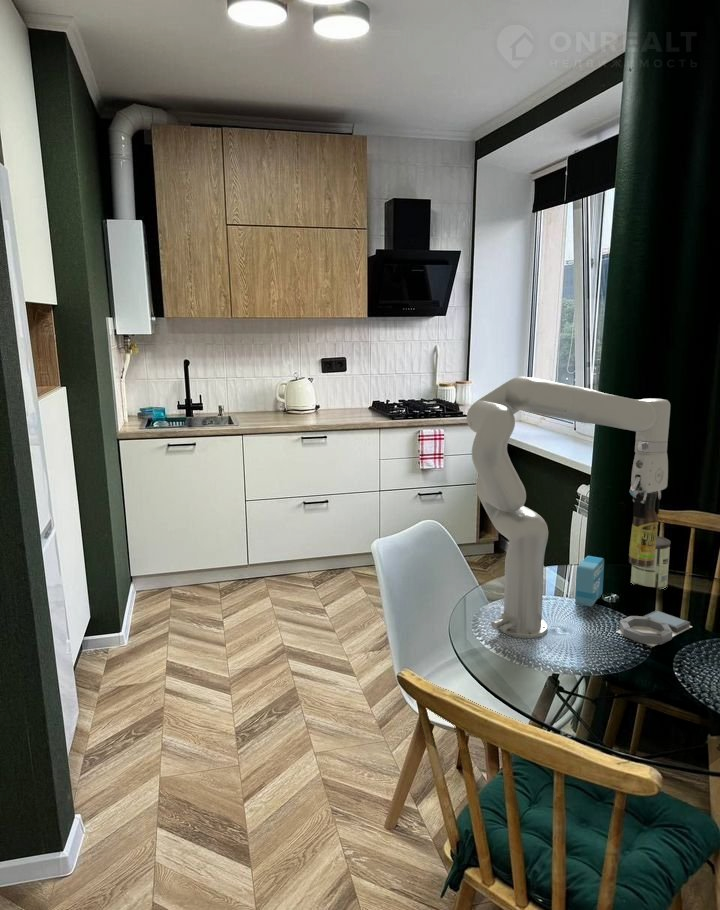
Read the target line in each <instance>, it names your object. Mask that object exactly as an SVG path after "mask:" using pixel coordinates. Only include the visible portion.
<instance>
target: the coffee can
mask: <svg viewBox="0 0 720 910" xmlns="http://www.w3.org/2000/svg"><path fill="white" fill-rule="evenodd" d="M671 542H672V541H671V540H670V539H668V538H667V537H664V536H663V537H662V536H659V535H657V540H656V549H655V558H654V564H653V566H650V567H639V566H635V565H632V564H631V571H630V573H631V574H630V575H631V576H630V583H632V584H633V586H634V585H639V586H643V587H649V588H655V589H658V590H661V589H664V588H666V587H667V588H668V577H669V567H670V566H669V565H670V549H671V544H672V543H671ZM632 584H631V585H632ZM667 588H666V589H667ZM664 590H665V589H664Z"/></svg>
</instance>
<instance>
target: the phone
mask: <svg viewBox="0 0 720 910" xmlns="http://www.w3.org/2000/svg"><path fill="white" fill-rule="evenodd" d="M643 617H651V618H654V619H657V620H660V621H662V622H665V623H667V624H668V625H669V627H670V628H671V630H672V631H673V632H676V633H678V632H680V631H682V630H684V629H686V628H688V627H689V626H691V621H688V620H685V619H684V618H683V619H682V618H681V617H677V616H674V615H672V614H668V613H665V612H662V611H659V610H657V609H656V610H654V611H651V612H650V613H647V614H645V615H643Z"/></svg>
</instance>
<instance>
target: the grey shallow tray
mask: <svg viewBox="0 0 720 910" xmlns="http://www.w3.org/2000/svg"><path fill="white" fill-rule="evenodd" d="M691 628H693V626H692V625H690V626H689V627H688V628H686V629H684V630H682V631H680V632H678V633H676V632H673V631H672V630H671V628H670V627H669V625H668V624H667V623H665V622H662V621H660V620H657V619H654V618H651V617H644V616H642V615H641V616H639V615H630V616H629V615H628V616H627V617H625V618H623V619H621V620H619V629H618V630H616V631H615V633H618V634H620V635H622V636H623V637H624V638H628V639H629V640H632V641H635V642H637V643H639V644H645V645H647V646H649V647H652V648H654V647H655V646H658V645H663V644H665V643H668V642H669V641H671V640H672V639H673V638H674V637H675V636H677V635H679V634H682V633H683V632H685V631H687V630H690V629H691Z"/></svg>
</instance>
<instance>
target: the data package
mask: <svg viewBox="0 0 720 910" xmlns="http://www.w3.org/2000/svg"><path fill="white" fill-rule="evenodd" d="M604 569H605V559H604V558H603V557H597V556H592V555H587V556H586V557H585V558H584V559H583V560H582V561H581V562H580V563H579V564H578V565H577V567H576V576H575V577H576V578H575V597H574V598H575V600H574V601H575V602H574V603H575V606H576V605H579V606H578V607H581V606H587V607H590V608H591V607H593V606H594V604H595V603H596V602H597V601H598V600H599V599H601V598H602V597H601V595H602V596H603V592H604V591H603V589H604V574H605V573H604V572H605V570H604ZM600 597H601V598H600Z"/></svg>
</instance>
